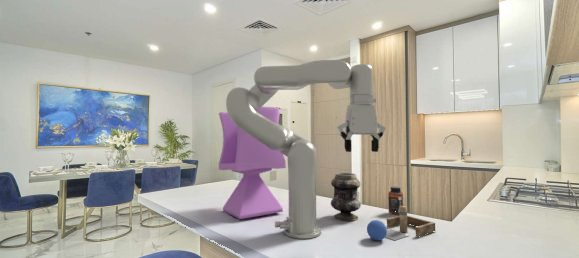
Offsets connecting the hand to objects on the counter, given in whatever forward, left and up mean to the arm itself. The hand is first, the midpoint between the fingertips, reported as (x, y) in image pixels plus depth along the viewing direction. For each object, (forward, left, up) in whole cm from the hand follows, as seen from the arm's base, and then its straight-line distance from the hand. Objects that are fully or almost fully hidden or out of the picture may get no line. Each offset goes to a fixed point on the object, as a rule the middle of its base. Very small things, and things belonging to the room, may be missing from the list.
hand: (361, 151), depth 87 cm
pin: (+15, 0, -28) cm, 32 cm away
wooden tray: (+19, +1, -28) cm, 34 cm away
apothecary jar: (+3, +20, -28) cm, 34 cm away
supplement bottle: (+27, +21, -28) cm, 44 cm away
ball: (+2, -5, -25) cm, 25 cm away
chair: (-34, +36, -27) cm, 56 cm away
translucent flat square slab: (+10, -2, -28) cm, 29 cm away
